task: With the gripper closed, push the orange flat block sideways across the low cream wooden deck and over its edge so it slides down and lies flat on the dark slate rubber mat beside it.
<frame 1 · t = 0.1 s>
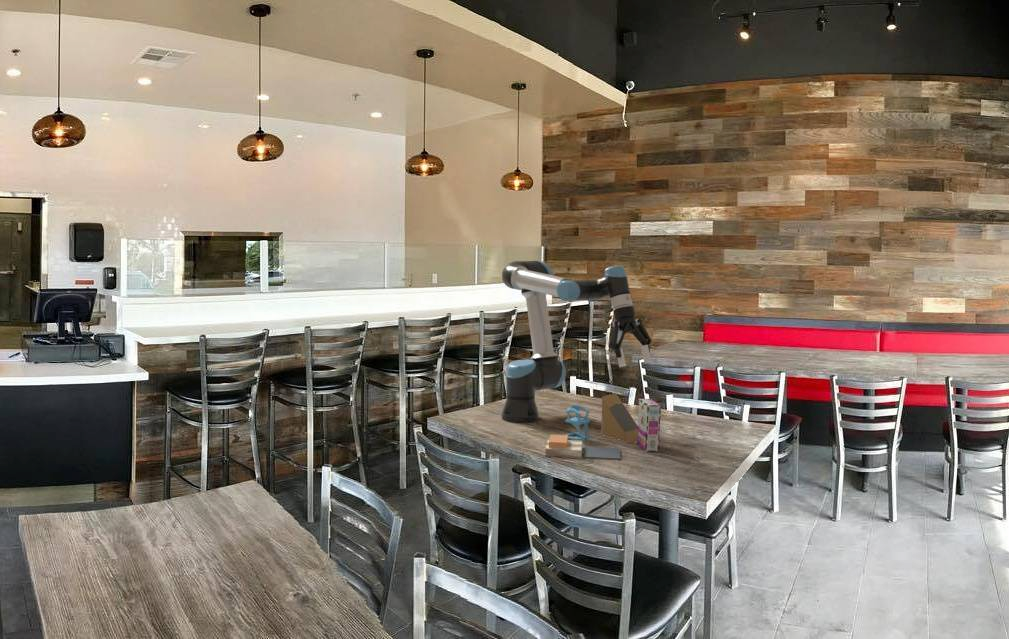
hand: (635, 364, 249), 28 cm above the table, tool tilted 20°, fingers open, 13 cm apart
sandwich container: (624, 438, 256), on the table
orange flat block: (558, 444, 237), point 2 cm above the table, touching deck
mat: (602, 453, 236), on the table
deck: (564, 451, 237), on the table
candy bar box: (648, 448, 243), on the table
chair: (577, 439, 254), on the table
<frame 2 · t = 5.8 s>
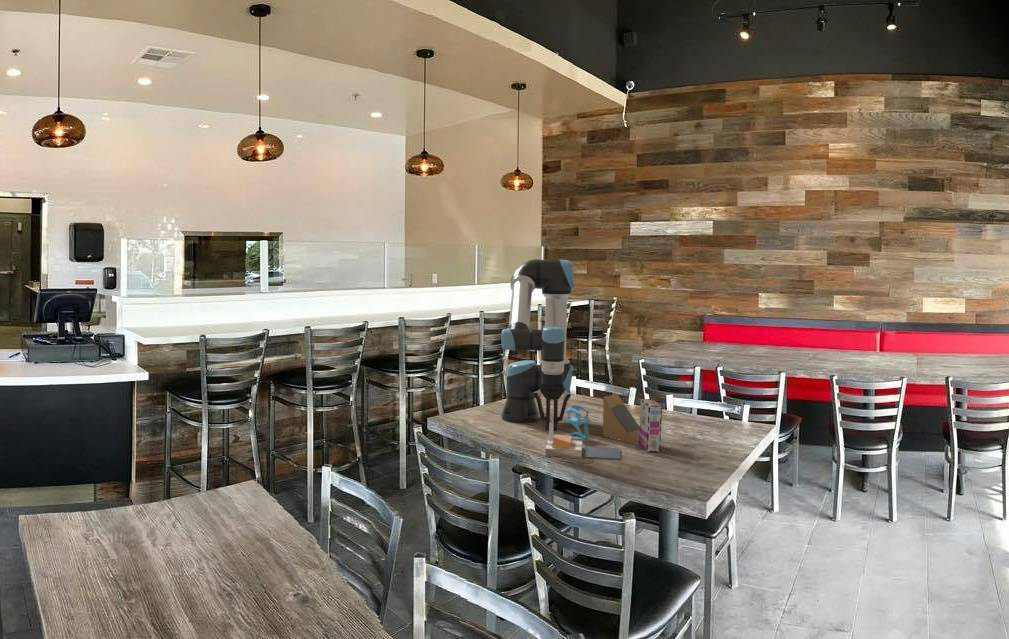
hand: (551, 440, 237), 4 cm above the table, tool pointing down, fingers closed
sandwich container: (625, 438, 255), on the table
orange flat block: (562, 444, 237), point 3 cm above the table, touching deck
everything else where it was.
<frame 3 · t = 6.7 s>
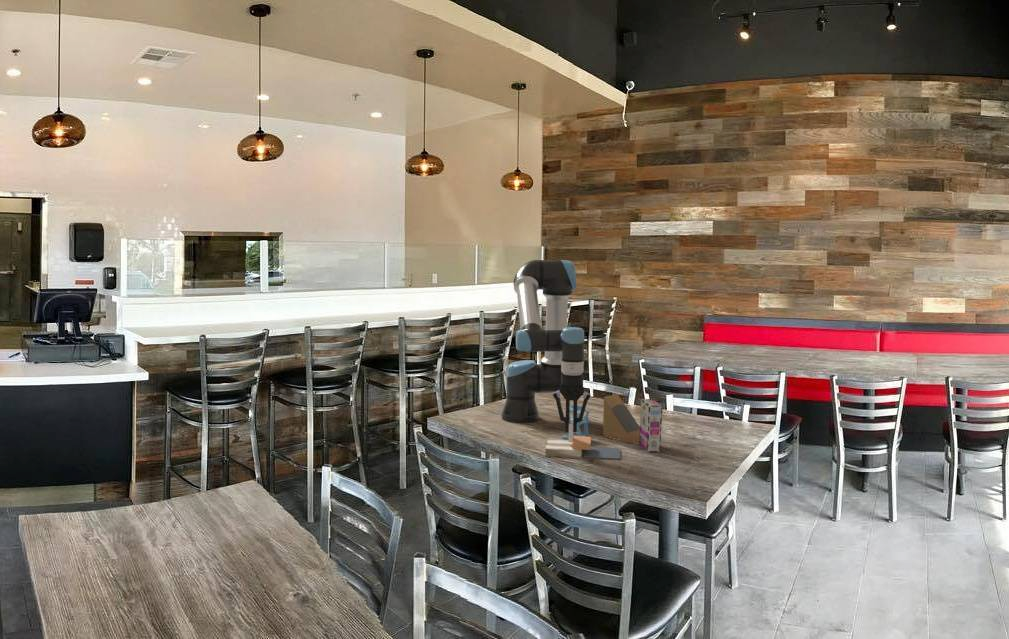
hand: (570, 441, 236), 4 cm above the table, tool pointing down, fingers closed
orange flat block: (581, 445, 236), point 3 cm above the table, touching gripper
everything else where it was.
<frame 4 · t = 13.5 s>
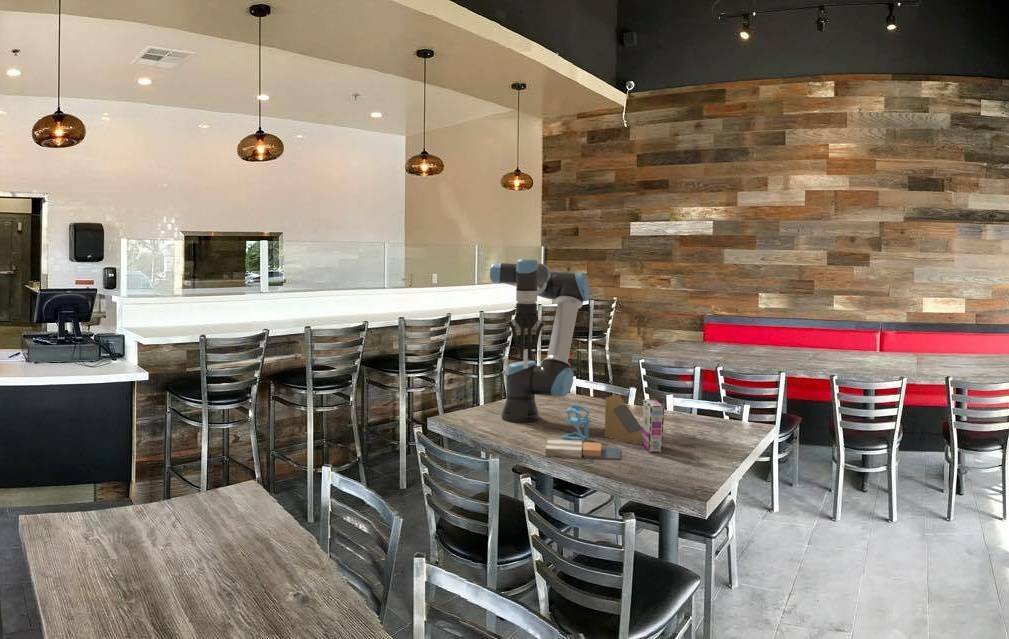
hand: (525, 367, 249), 26 cm above the table, tool pointing down, fingers closed
orange flat block: (592, 451, 236), resting on mat
at the end: orange flat block inside the target area (3.5 cm from its centre), point 0.5 cm above the table; orange flat block tilted 0°; orange flat block touching mat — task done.
